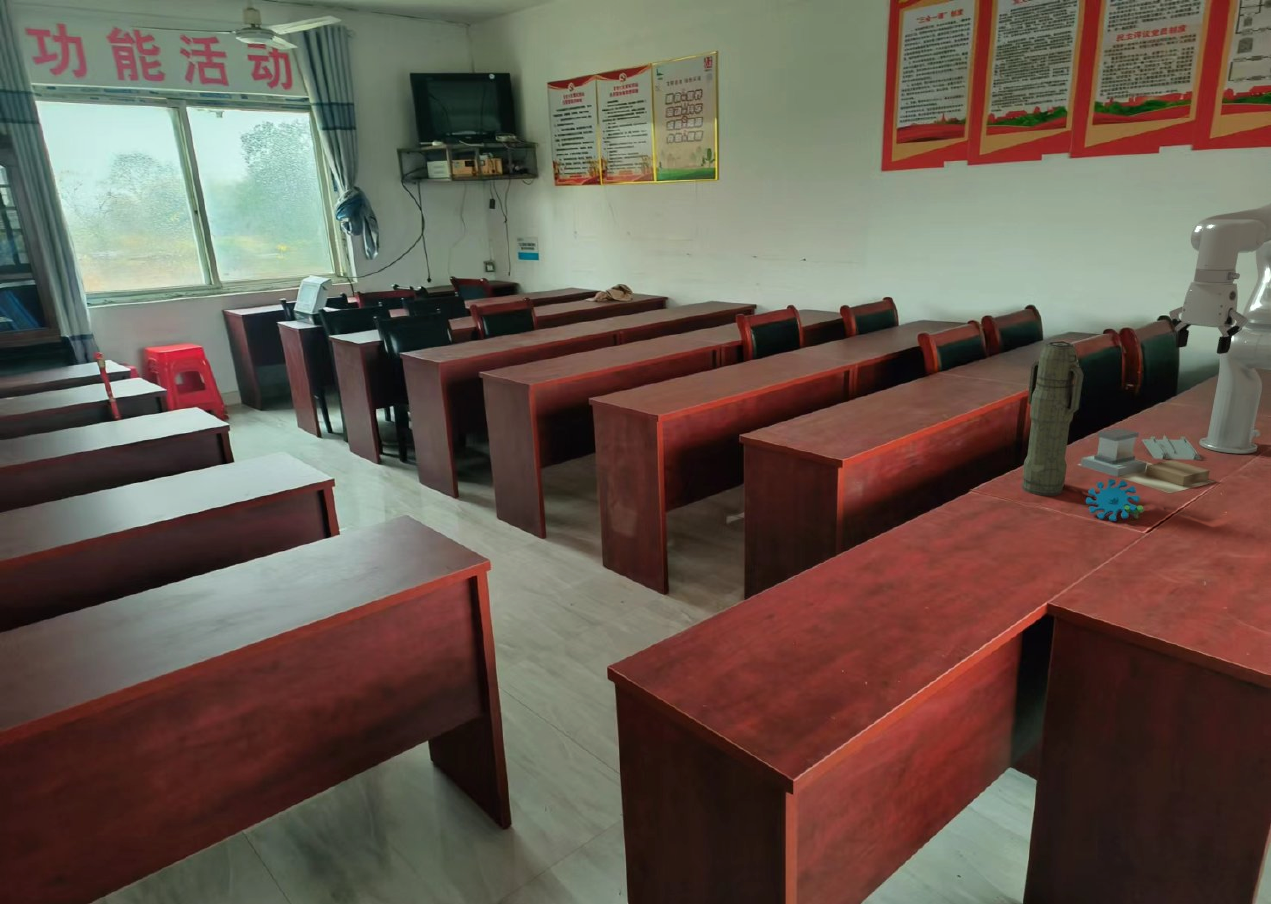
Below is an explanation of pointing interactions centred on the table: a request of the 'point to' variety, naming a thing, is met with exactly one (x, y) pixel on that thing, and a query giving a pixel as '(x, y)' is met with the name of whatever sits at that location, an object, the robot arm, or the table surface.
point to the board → (1158, 481)
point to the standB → (1114, 466)
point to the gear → (1114, 501)
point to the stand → (1177, 473)
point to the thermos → (1051, 417)
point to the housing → (1116, 446)
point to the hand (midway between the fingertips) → (1201, 350)
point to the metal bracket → (1171, 449)
